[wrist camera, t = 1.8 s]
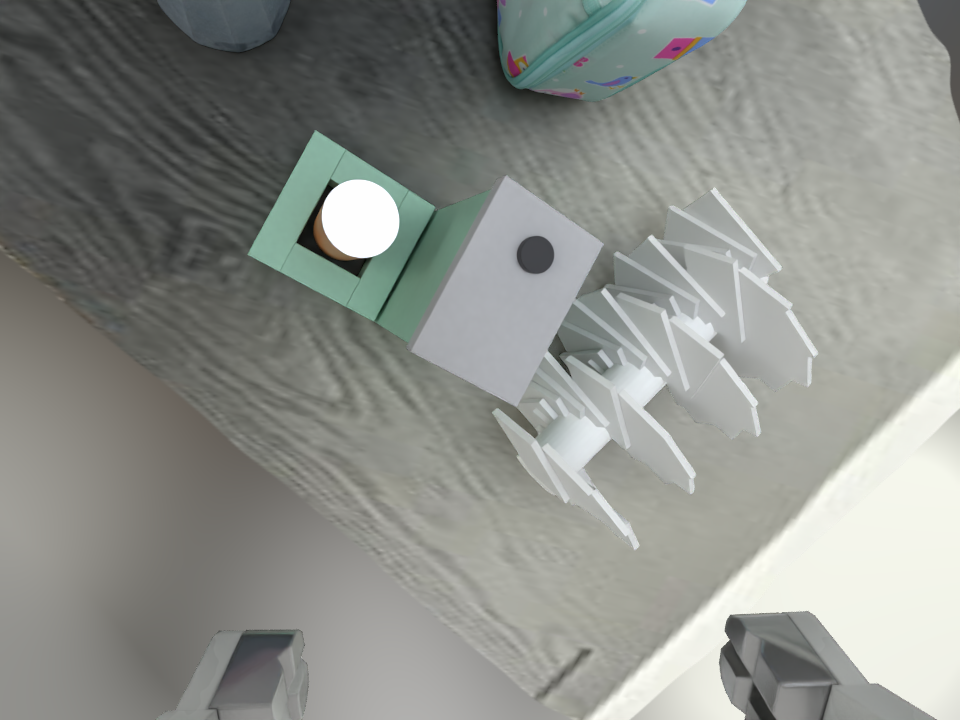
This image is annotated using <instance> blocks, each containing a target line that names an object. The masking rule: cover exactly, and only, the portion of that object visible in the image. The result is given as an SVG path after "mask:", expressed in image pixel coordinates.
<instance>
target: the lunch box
mask: <svg viewBox="0 0 960 720" xmlns="http://www.w3.org/2000/svg"><path fill="white" fill-rule="evenodd" d="M746 1H747V0H497V12H498V45H499V55H500V59H501V64H502V68H503V71H504V74H505V76H506V78H507V80H508V81H509V82H510V83H511V84H512V85H513V86H514V87H516V88H518V89H524V88H528V89H530V90H533V91H536V92H541V93H547V94H551V95H557V96H563V97H568V98H574V99H580V100H584V101H588V102H596V101H599V100H602V99H605V98H608V97H610V96H612V95H614V94H616V93H618V92H620V91H622V90H624V89H626V88H628V87H630V86H632V85H634V84H635V83H637V82H639V81H641V80H643V79H645V78H646V77H648V76H650V75H652V74H653V73H655V72H657V71H659V70H660V69H662V68H664V67H666V66H667V65H669V64H671V63H673V62H674V61H676V60H678V59H680V58H681V57H683V56H685V55H687V54H688V53H690V52H692V51H694V50H695V49H697V48H699V47H701V46H703V45H704V44H706V43H707V42H709V41H710V40H712V39H713V38H715V37H716V36H717V35H719V34H720V33H721V32H722V31H724V30H725V29H726V28H727V27H728V26H729V25H730V24H731V23H732V22H733V21H734V19H735V18H736V17H737V16H738V14H739V13H740V11H741V10H742V8H743V7H744V5H745V4H746Z"/></svg>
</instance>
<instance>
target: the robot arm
mask: <svg viewBox="0 0 960 720" xmlns="http://www.w3.org/2000/svg"><path fill="white" fill-rule="evenodd" d="M725 632H726V634H727V636H728V638H729V639H730V640H729V641H728V642H727V643H726V645H724V646H723V647H722V648H721V653H720V661H719V665H720V673H721V679H722V682H723V685H724V688H725V691H726V693H727V695H728V697H729V699H730V701H731V703H732V704H733V705H734V706H735V707H737V708H738V709H739V710H741V711H742V712H743V713H744V714H746V716H745V720H936V719H935V718H933V717H932V716H930V715H928V714H927V713H925V712H924V711H922V710H920V709H919V708H917V707H915V706H914V705H912V704H910V703H909V702H907V701H906V700H904V699H902V698H901V697H899V696H897V695H896V694H894V693H892V692H891V691H889V690H888V689H886V688H884V687H882V686H881V685H879V684H870V683H869V682H868V681H867V680H866V679H865V677H864V676H863V675H862V673H861V672H860V671H859V670H858V668H857V667H856V666H855V665H854V664H853V662H852V661H851V660H850V659H849V657H848V656H847V655H846V654H845V652H844V651H843V650H842V649H841V648H840V646H839V645H838V644H837V642H836V641H835V640H834V639H833V637H832V636H831V635H830V634H829V632H828V631H827V630H826V629H825V627H824V626H823V625H822V624H821V623H820V621H819V620H818V619H817V618H816V617H815V615H813V614H812V613H810V612H808V611H805V612H804V611H803V612H782V613H759V614H737V615H730V616H729V618H728V619H727V621H726V626H725ZM304 646H305V644H304V638H303V633H302V631H301V630H246V631H219V632H217V633H216V635H214V636H213V637H212V639H211V641H210V643H209V645H208V647H207V649H206V650H205V652H204V654H203V657H202V658H201V660H200V662H199V664H198V666H197V668H196V670H195V672H194V674H193V676H192V678H191V680H190V682H189V683H188V685H187V687H186V689H185V691H184V693H183V695H182V697H181V699H180V701H179V703H178V705H177V707H176V709H175V711H165V712H164V713H163V714H162V715H161V716H159V717H158V718H157V719H155V720H302V719H303V714H304V711H305V707H306V702H307V694H308V667H307V663H306V662H305V661H304V660H303V659H302V658H301V656H302V652H303V648H304Z"/></svg>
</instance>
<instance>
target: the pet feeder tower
mask: <svg viewBox="0 0 960 720" xmlns="http://www.w3.org/2000/svg"><path fill="white" fill-rule="evenodd" d="M603 245H604V243H603V242H601V241H600V240H598V239H597V238H595V237H594V236H593V235H591V234H590V233H588V232H587V231H585V230H584V229H583V228H581V227H580V226H578V225H577V224H576V223H574V222H573V221H571V220H570V219H568V218H567V217H566V216H564V215H563V214H561V213H560V212H558V211H557V210H556V209H554V208H553V207H551V206H550V205H548V204H547V203H546V202H544V201H543V200H541V199H540V198H538V197H537V196H536V195H534V194H533V193H531V192H530V191H528V190H527V189H526V188H524V187H523V186H521V185H520V184H518V183H517V182H516V181H514V180H513V179H511V178H510V177H508V176H507V175H505V176H502V177H500V178H498V179H496V181H495V183H494V185H493V187H492V189H491V190H488V191H486V192H483V193H481V194H478V195H475V196H473V197H470V198H468V199H465V200H463V201H460V202H458V203H455V204H452V205H450V206H447V207H445V208H442V209H440V210H437V211H435V212H433V213H432V215H431V217H430V219H429V221H428V223H427V225H426V226H425V228H424V230H423V232H422V234H421V236H420V238H419V239H418V241H417V243H416V245H415V247H414V249H413V250H412V252H411V254H410V256H409V258H408V260H407V262H406V263H405V265H404V267H403V269H402V271H401V273H400V275H399V276H398V278H397V280H396V282H395V284H394V286H393V287H392V289H391V291H390V293H389V295H388V297H387V299H386V300H385V302H384V304H383V306H382V308H381V310H380V312H379V313H378V315H377V317H376V319H375V321H374V322H376V323H377V324H379V325H380V326H382V327H384V328H385V329H387V330H388V331H390V332H391V333H393V334H395V335H396V336H398V337H399V338H401V339H402V340H404V341H406V342H407V343H408V345H407V346H406V349H407V350H409V351H410V352H412V353H413V354H415V355H417V356H419V357H421V358H423V359H425V360H427V361H429V362H431V363H433V364H434V365H436V366H438V367H440V368H442V369H444V370H446V371H448V372H450V373H452V374H454V375H456V376H457V377H459V378H461V379H463V380H465V381H467V382H469V383H471V384H473V385H475V386H477V387H478V388H480V389H482V390H484V391H486V392H488V393H490V394H492V395H494V396H496V397H498V398H500V399H501V400H503V401H505V402H507V403H509V404H511V405H513V406H515V407H517V406H518V404H519V402H520V400H521V398H522V397H523V395H524V393H525V391H526V389H527V387H528V385H529V383H530V382H531V380H532V378H533V376H534V374H535V372H536V370H537V369H538V367H539V365H540V363H541V361H542V359H543V357H544V355H545V354H546V352H547V350H548V348H549V346H550V344H551V342H552V340H553V339H554V337H555V335H556V333H557V331H558V329H559V327H560V326H561V324H562V322H563V320H564V318H565V316H566V314H567V312H568V311H569V309H570V307H571V305H572V303H573V301H574V299H575V297H576V296H577V294H578V292H579V290H580V288H581V286H582V284H583V282H584V281H585V279H586V277H587V275H588V273H589V271H590V269H591V268H592V266H593V264H594V262H595V260H596V258H597V256H598V254H599V253H600V251H601V249H602V247H603Z"/></svg>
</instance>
